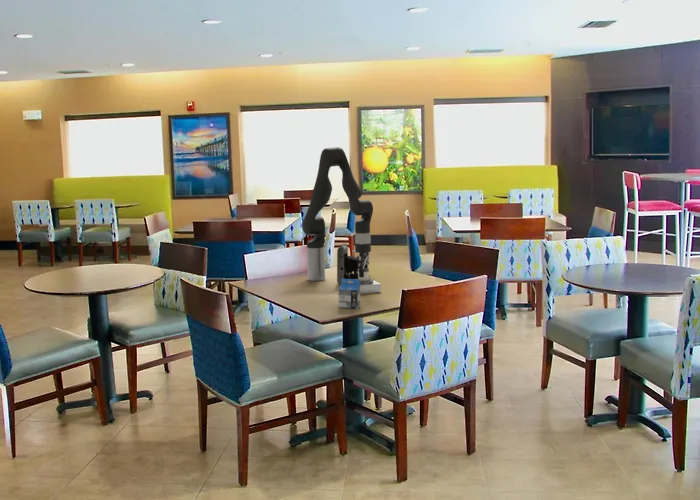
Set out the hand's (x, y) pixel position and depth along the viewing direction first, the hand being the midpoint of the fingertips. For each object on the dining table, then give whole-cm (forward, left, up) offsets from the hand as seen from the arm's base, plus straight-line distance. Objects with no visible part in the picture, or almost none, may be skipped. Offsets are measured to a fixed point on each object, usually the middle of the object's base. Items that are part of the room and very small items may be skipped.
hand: (363, 275), depth 340 cm
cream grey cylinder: (0, 0, -4) cm, 4 cm away
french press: (-40, +10, -8) cm, 42 cm away
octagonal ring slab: (0, 0, -8) cm, 8 cm away
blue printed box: (+31, -16, -8) cm, 36 cm away
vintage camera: (-21, +1, -8) cm, 22 cm away
